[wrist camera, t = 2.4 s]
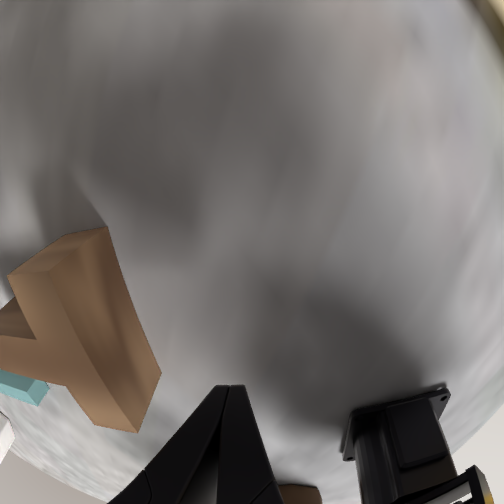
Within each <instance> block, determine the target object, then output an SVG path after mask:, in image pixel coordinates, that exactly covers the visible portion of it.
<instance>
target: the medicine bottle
mask: <svg viewBox="0 0 504 504" xmlns="http://www.w3.org/2000/svg"><path fill="white" fill-rule="evenodd" d="M14 439H15V434H14V431H13V429H12V426H11V424H10V421H9V419H8V418H7V417H5V416H4V415H3V414H2V413H1V412H0V464H1V462H2V460H3V458H4V456H5V454H6V453H7V451H8V449H9V448H10V446H11V444H12V442H13V441H14Z"/></svg>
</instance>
